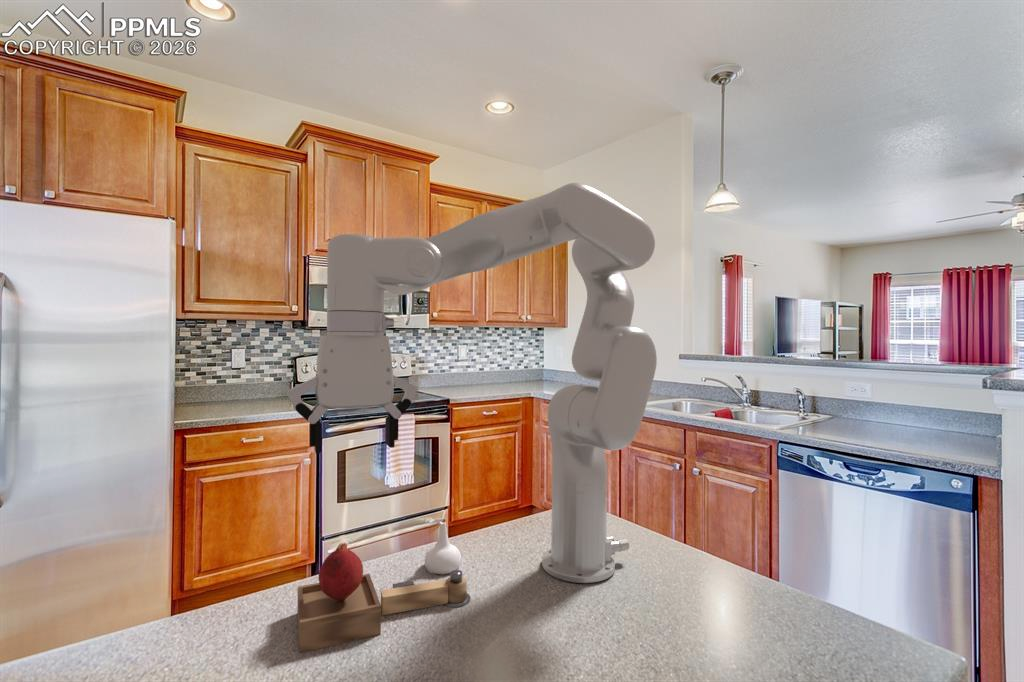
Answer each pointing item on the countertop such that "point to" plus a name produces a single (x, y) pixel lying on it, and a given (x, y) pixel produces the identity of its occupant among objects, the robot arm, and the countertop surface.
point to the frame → (454, 578)
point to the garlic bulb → (442, 554)
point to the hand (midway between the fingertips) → (354, 448)
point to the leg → (422, 595)
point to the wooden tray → (337, 616)
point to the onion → (340, 573)
